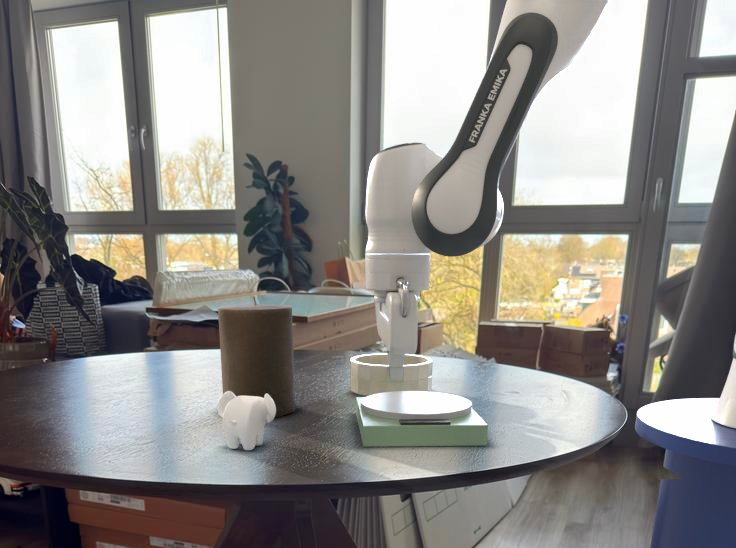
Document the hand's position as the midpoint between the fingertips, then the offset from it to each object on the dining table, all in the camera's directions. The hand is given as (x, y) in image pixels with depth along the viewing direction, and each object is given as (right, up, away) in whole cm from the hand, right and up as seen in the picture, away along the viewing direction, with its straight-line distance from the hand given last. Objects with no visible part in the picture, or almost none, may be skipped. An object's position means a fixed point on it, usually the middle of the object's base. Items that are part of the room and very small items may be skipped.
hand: (395, 377), depth 104 cm
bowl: (0, -1, +7) cm, 7 cm away
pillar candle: (-19, -6, -5) cm, 20 cm away
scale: (+2, -9, -15) cm, 18 cm away
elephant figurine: (-18, -12, -22) cm, 31 cm away
